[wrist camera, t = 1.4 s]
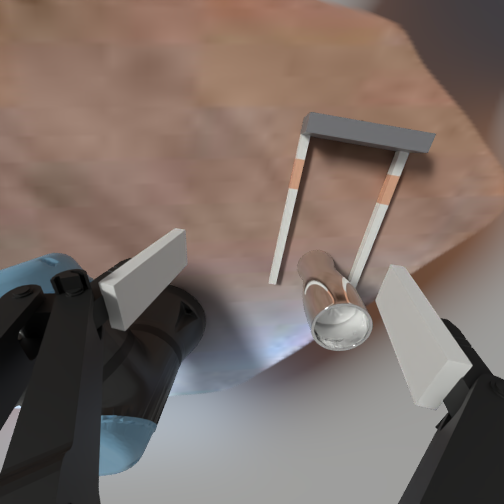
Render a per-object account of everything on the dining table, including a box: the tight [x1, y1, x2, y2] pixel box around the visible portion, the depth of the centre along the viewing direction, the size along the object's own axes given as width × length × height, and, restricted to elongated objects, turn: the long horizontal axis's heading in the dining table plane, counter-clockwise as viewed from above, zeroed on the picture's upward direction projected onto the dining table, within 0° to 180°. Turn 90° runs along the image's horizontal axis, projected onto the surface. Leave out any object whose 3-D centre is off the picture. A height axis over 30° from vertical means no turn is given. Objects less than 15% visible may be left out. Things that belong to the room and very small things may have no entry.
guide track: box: [269, 112, 436, 288], centre depth 33 cm, size 25×14×5 cm, turn 171°
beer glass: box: [297, 250, 373, 351], centre depth 32 cm, size 7×7×15 cm
